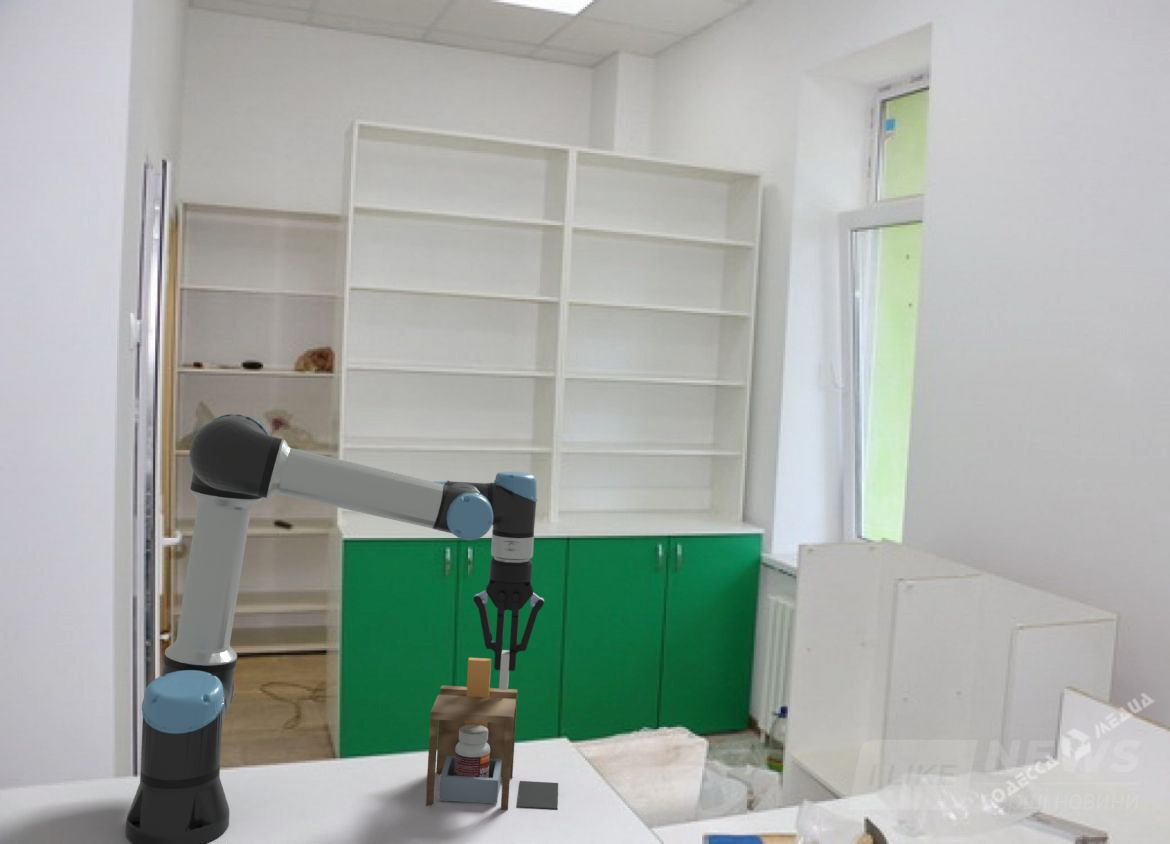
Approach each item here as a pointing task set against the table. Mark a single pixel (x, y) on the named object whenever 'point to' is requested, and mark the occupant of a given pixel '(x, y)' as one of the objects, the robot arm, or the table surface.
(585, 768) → the table surface
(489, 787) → the tray with upright plank
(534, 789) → the mat
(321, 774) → the table surface
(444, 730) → the wooden stand
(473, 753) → the pill bottle
